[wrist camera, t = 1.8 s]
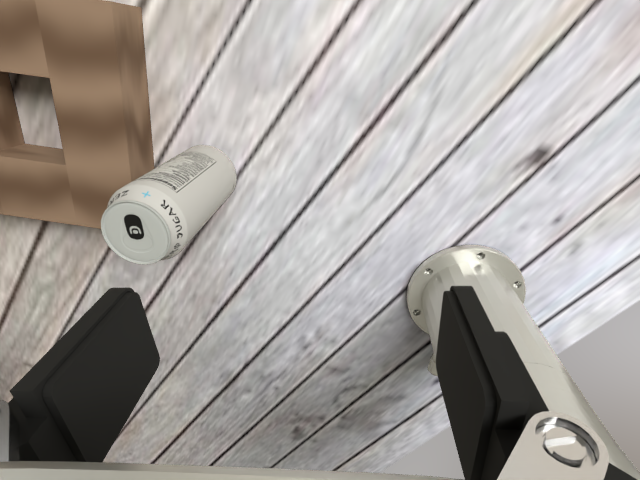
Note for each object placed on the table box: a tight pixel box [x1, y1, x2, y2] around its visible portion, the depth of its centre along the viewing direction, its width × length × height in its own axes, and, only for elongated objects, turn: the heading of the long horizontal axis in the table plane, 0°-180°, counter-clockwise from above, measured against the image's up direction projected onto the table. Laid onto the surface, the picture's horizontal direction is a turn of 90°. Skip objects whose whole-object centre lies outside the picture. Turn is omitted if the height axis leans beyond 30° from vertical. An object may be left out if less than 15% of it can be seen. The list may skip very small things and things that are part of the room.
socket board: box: [0, 0, 154, 229], centre depth 36 cm, size 20×20×4 cm
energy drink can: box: [101, 145, 237, 265], centre depth 33 cm, size 6×6×15 cm
